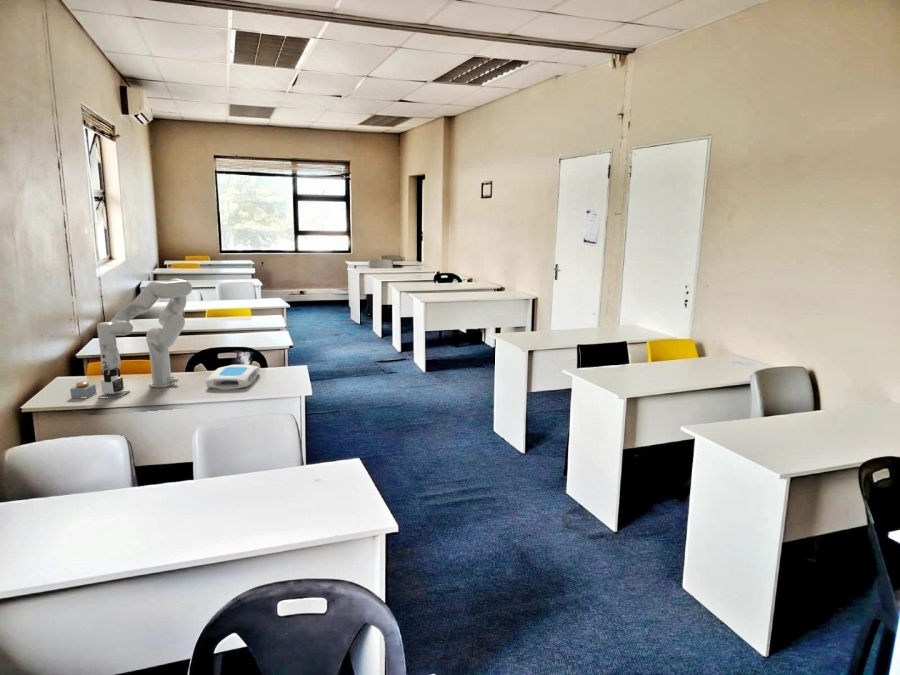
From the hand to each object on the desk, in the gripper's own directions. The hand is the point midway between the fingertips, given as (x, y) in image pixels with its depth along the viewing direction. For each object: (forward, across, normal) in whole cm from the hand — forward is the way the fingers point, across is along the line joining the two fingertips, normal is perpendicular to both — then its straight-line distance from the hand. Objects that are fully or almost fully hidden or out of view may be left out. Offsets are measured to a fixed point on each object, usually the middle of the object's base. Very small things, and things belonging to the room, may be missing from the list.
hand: (112, 379), depth 304 cm
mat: (+9, 0, 0) cm, 9 cm away
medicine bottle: (+7, 0, 0) cm, 7 cm away
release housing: (+9, -1, +15) cm, 17 cm away
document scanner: (+9, +26, -53) cm, 59 cm away
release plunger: (+8, -1, +15) cm, 17 cm away
